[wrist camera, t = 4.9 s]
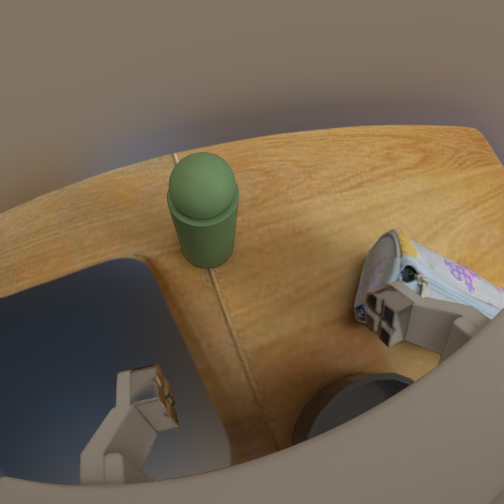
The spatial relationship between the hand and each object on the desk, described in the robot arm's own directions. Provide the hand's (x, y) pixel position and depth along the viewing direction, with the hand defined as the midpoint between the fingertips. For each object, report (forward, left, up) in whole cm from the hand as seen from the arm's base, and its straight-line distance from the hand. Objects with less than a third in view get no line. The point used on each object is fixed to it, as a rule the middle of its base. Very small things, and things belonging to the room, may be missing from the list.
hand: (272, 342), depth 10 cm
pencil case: (+19, -8, -16) cm, 26 cm away
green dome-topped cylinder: (+2, +10, -16) cm, 19 cm away
